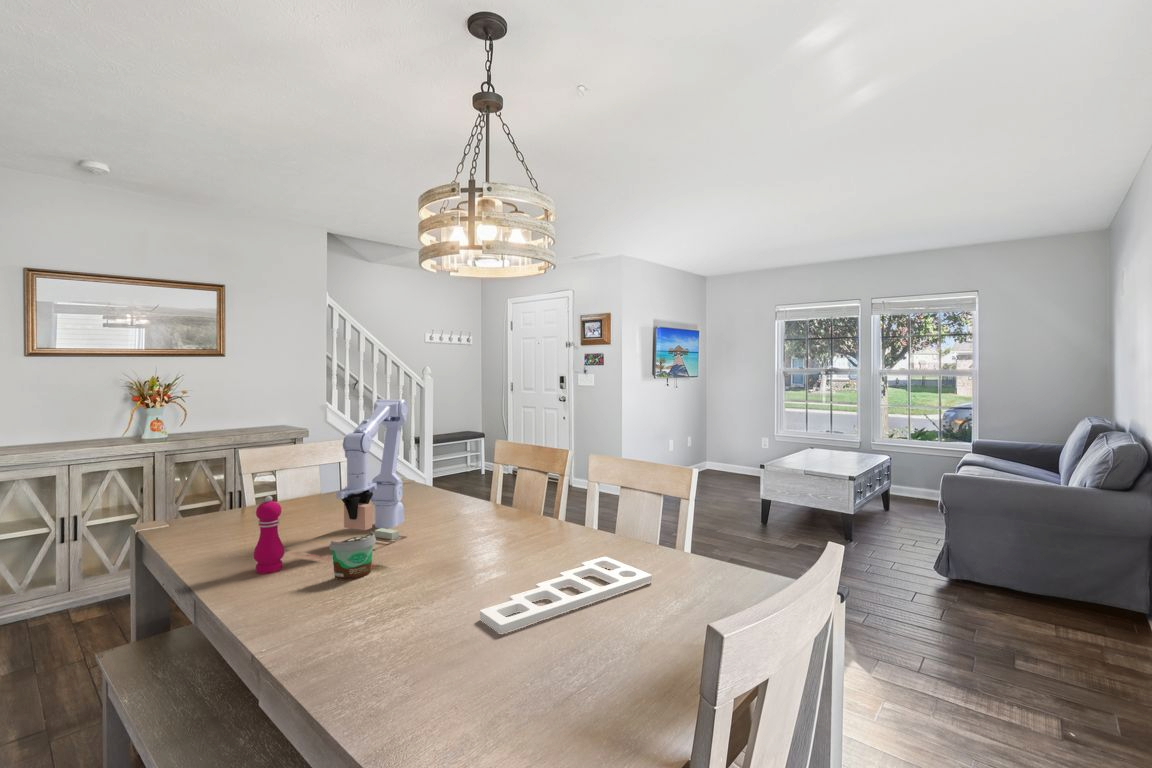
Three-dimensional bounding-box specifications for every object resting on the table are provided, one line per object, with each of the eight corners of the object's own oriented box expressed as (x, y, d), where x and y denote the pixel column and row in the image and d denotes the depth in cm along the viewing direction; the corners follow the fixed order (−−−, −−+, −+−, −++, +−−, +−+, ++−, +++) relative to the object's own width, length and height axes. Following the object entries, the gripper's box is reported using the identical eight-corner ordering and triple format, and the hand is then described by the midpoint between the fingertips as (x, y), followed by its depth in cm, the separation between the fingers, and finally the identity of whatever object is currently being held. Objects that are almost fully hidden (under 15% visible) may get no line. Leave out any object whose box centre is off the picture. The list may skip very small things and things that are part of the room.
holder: (500, 638, 114) (501, 625, 114) (459, 608, 128) (459, 596, 128) (652, 585, 142) (652, 574, 142) (605, 565, 156) (605, 556, 156)
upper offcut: (381, 534, 178) (381, 527, 178) (398, 536, 175) (398, 530, 175) (374, 536, 175) (374, 530, 175) (391, 539, 172) (391, 533, 172)
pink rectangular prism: (351, 524, 171) (351, 502, 170) (372, 527, 168) (372, 504, 167) (344, 527, 168) (343, 504, 168) (365, 530, 165) (364, 506, 165)
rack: (377, 536, 180) (377, 532, 179) (407, 541, 175) (407, 536, 175) (341, 550, 166) (341, 545, 166) (373, 556, 161) (373, 551, 161)
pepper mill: (271, 575, 146) (270, 499, 145) (247, 573, 147) (246, 498, 146) (290, 566, 153) (289, 493, 152) (267, 564, 154) (267, 492, 154)
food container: (342, 585, 139) (342, 546, 139) (329, 579, 143) (329, 541, 143) (385, 571, 149) (385, 534, 149) (372, 566, 153) (372, 530, 152)
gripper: (364, 467, 175) (364, 510, 176) (328, 476, 162) (328, 522, 162) (382, 469, 173) (382, 512, 173) (347, 477, 159) (347, 524, 160)
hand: (357, 517), depth 168 cm, fingers closed on pink rectangular prism, 3 cm apart
